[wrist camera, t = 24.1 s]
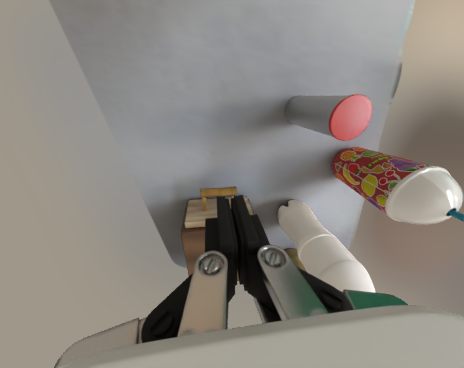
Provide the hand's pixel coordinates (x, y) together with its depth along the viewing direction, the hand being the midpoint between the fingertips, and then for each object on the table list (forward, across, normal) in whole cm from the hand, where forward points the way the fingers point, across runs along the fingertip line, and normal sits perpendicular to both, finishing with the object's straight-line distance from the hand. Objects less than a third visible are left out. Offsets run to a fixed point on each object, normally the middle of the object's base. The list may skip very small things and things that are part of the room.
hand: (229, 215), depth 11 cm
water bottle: (+21, -16, +16) cm, 31 cm away
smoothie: (+21, -26, +5) cm, 34 cm away
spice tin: (+21, -14, -5) cm, 26 cm away
